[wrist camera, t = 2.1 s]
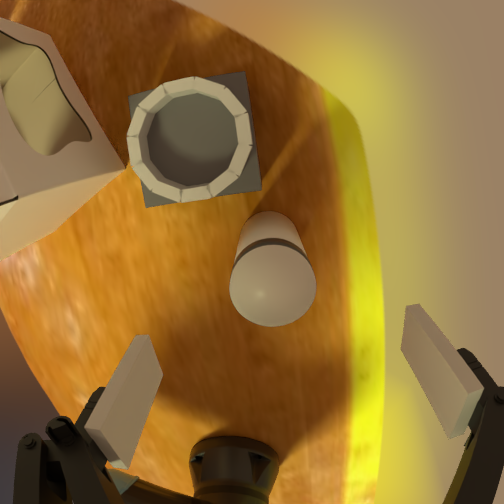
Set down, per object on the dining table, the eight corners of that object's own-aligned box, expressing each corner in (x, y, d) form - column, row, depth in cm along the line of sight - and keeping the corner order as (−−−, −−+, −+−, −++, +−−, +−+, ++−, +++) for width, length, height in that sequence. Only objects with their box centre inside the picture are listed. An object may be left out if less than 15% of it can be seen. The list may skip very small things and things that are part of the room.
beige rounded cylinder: (300, 262, 34) (318, 321, 23) (244, 269, 34) (236, 330, 23) (294, 207, 32) (313, 242, 21) (235, 214, 33) (222, 253, 21)
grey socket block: (261, 181, 31) (261, 193, 24) (165, 196, 32) (137, 212, 24) (247, 84, 28) (243, 65, 21) (150, 103, 29) (118, 93, 21)
